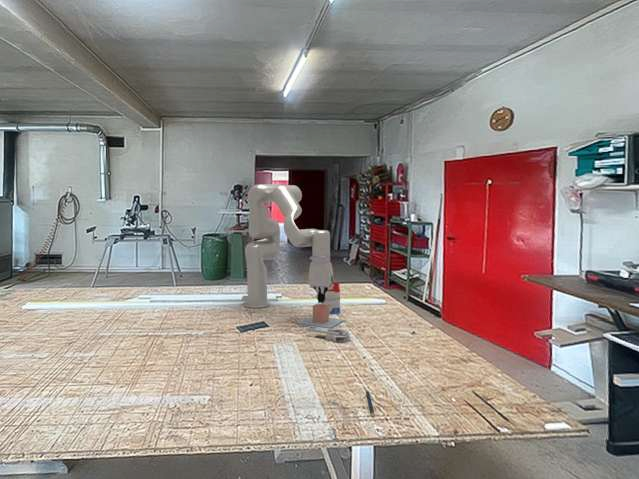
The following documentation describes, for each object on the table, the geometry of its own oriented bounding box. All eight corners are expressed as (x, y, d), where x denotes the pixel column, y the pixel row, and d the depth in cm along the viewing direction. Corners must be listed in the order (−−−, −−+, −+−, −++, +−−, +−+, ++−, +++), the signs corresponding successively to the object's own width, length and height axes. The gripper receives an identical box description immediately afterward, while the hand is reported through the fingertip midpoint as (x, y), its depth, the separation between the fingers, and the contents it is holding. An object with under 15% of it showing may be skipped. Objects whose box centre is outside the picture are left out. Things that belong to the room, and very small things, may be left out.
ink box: (340, 311, 230) (340, 280, 228) (339, 314, 225) (339, 282, 224) (322, 311, 231) (322, 280, 229) (320, 313, 226) (321, 282, 224)
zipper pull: (312, 332, 196) (312, 321, 196) (353, 338, 187) (353, 327, 187) (302, 337, 189) (302, 326, 189) (344, 344, 181) (344, 332, 180)
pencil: (369, 394, 136) (375, 418, 122) (365, 394, 136) (371, 419, 122) (369, 391, 136) (375, 415, 121) (365, 391, 136) (371, 415, 121)
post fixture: (296, 324, 207) (296, 308, 207) (311, 316, 220) (312, 302, 219) (330, 329, 200) (330, 313, 200) (344, 321, 213) (344, 306, 212)
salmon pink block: (312, 321, 209) (312, 305, 208) (318, 319, 213) (318, 303, 213) (323, 323, 207) (323, 307, 206) (328, 320, 211) (328, 304, 210)
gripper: (301, 259, 207) (301, 302, 209) (333, 261, 201) (333, 305, 202) (309, 257, 214) (309, 299, 216) (340, 259, 207) (340, 302, 209)
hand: (321, 302), depth 209 cm, fingers closed
